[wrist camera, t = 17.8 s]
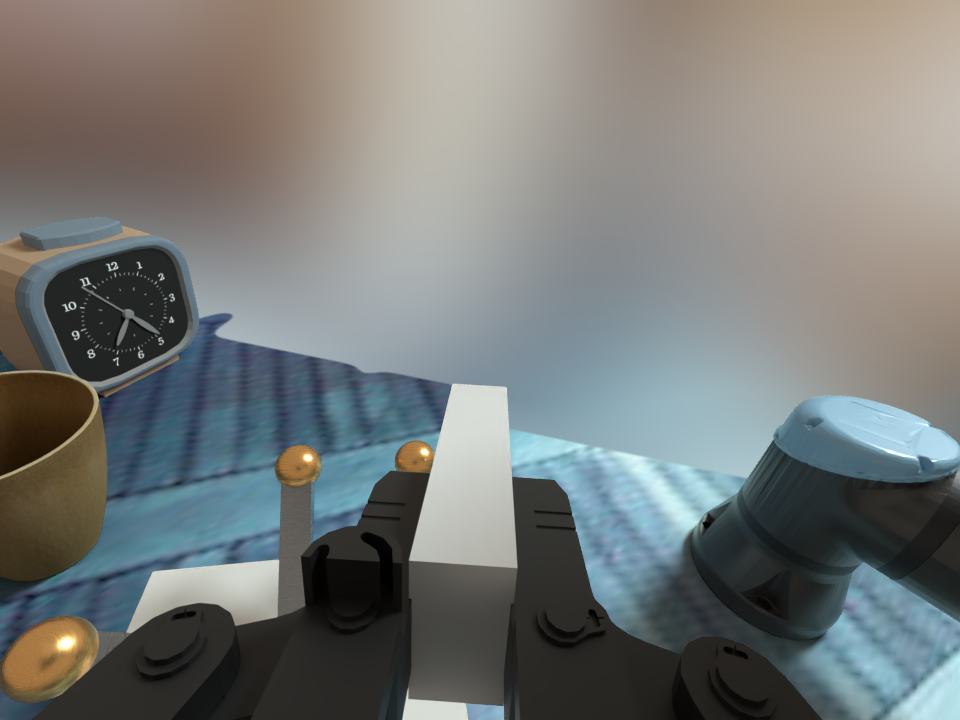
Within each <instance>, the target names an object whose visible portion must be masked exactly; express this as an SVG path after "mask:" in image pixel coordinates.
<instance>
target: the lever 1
mask: <svg viewBox="0 0 960 720" xmlns="http://www.w3.org/2000/svg"><path fill="white" fill-rule="evenodd" d="M130 634H131V633H125V632H104V631H97V630H96V628H95V627H94V626H93V625H92V624H91V623H90V622H89V621H87V620H86V619H83V618H81V617H77V616H60V617H55V618H51V619H48V620H45V621H43V622H41V623H39V624H37V625H35V626H33V627H31V628H30V629H28V630H27V631H26V632H24V633H23V634H22V635H21V636H20V637H18V638H17V639H16V640H15V641H14V642H13V644H12V645H11V646H10V647H9V649H8V650H7V652H6V653H5V655H4V657H3V659H2V661H1V663H0V688H1V690H2V692H3V693H4V694H5V695H6V696H7V697H9V698H10V699H12V700H14V701H17V702H21V703H38V702H43V701H47V700H50V699H53V698H55V697H57V696H59V695H61V694H62V693H63V692H65V691H66V690H67V689H68V688H69V687H70V686H71V685H73V684H74V683H75V682H76V681H77V680H78V679H79V678H81V677H82V676H83V675H84V674H85V673H86V672H87V671H89V670H90V669H91V668H92V667H93V666H94V665H96V664H97V663H98V662H99V661H100V660H101V659H102V658H104V657H105V656H106V655H107V654H108V653H109V652H110V651H112V650H113V649H114V648H115V647H116V646H117V645H118V644H120V643H121V642H122V641H123V640H124V639H125V638H126V637H128V636H129V635H130Z"/></svg>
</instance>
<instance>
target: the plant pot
mask: <svg viewBox="0 0 960 720" xmlns="http://www.w3.org/2000/svg"><path fill="white" fill-rule="evenodd" d="M106 496H107V453H106V443H105V434H104V427H103V421H102V415H101V409H100V404H99V399H98V395H97V393H96V391H95V389H94V388H93V387H92V386H91V385H90V384H89V383H88V382H86V381H85V380H83V379H81V378H78V377H76V376H73V375H69V374H65V373H60V372H53V371H39V370H26V371H11V372H3V373H0V577H3V578H7V579H11V580H15V581H34V580H39V579H44V578H47V577H50V576H53V575H55V574H58V573H60V572H62V571H64V570H66V569H68V568H69V567H71V566H73V565H74V564H76V563H77V562H79V561H80V560H81V559H82V558H84V557H85V556H86V555H87V554H88V553H89V552H90V551H91V550H92V548H93V547H94V546H95V545H96V543H97V542H98V539H99V537H100V534H101V530H102V524H103V519H104V513H105V506H106Z"/></svg>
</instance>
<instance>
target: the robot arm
mask: <svg viewBox="0 0 960 720" xmlns="http://www.w3.org/2000/svg"><path fill="white" fill-rule="evenodd" d="M508 421H509V420H508V404H507V388H506V387H496V386H481V385H465V384H452V389H451V393H450V397H449V401H448V405H447V409H446V413H445V417H444V421H443V425H442V429H441V433H440V437H439V441H438V445H437V449H436V453H435V457H434V461H433V465H432V469H431V473H418V472H403V471H390V472H389V473H388V474H386V475H385V476H384V477H383V478H382V479H381V480H379V481H378V482H377V483H376V484H375V486H374V488H373V490H372V492H371V495H370V497H369V499H368V504H366V506H365V508H364V511H363V513H362V516H361V519H360V520H359V522H358V524H357V526H349V527H344V528H341V529H338V530H335V531H332V532H328V533H327V534H325V535H324V536H322V537H320V538H319V539H317V540H316V541H314V542H313V543H312V544H311V545H310V546H309V547H308V548H307V549H306V551H305V552H304V553H303V554H302V555H301V565H302V575H303V586H304V597H305V606H304V607H302V608H300V609H298V610H296V611H294V612H292V613H289V614H286V615H282V616H279V617H276V618H271V619H266V620H261V621H257V622H252V623H247V624H243V625H238V626H235V623H234V620H233V617H232V615H231V613H230V612H229V611H227V610H226V609H224V608H223V607H221V606H219V605H217V604H208V603H195V604H190V605H185V606H180V607H176V608H174V609H172V610H169V611H167V612H165V613H163V614H160V615H158V616H156V617H154V618H152V619H151V620H149V621H148V622H147V623H145V624H144V625H142V626H141V627H139V628H138V629H137V630H135V631H134V632H132V633H131V634H130V635H129V636H128V637H126V638H125V639H124V640H123V641H122V642H121V643H120V644H118V645H117V646H116V647H115V648H114V649H113V650H112V651H110V652H109V653H108V654H107V655H106V656H105V657H104V658H102V659H101V660H100V661H99V662H98V663H97V664H96V665H94V666H93V667H92V668H91V669H90V670H89V671H87V672H86V673H85V674H84V675H83V676H82V677H81V678H79V679H78V680H77V681H76V682H75V683H74V684H73V685H71V686H70V687H69V688H68V689H67V690H66V691H65V692H63V693H62V694H61V695H60V696H59V697H58V698H57V699H55V700H54V701H53V702H52V703H51V704H50V705H49V706H47V707H46V708H45V709H44V710H43V711H42V712H40V713H39V714H38V715H37V716H36V717H35V718H34V719H32V720H402V718H403V712H404V707H405V701H406V696H407V690H408V699H416V700H429V701H443V702H456V703H470V704H483V705H497V706H503V703H504V720H822V719H821V718H820V717H819V716H818V715H817V713H816V712H815V711H814V710H813V709H812V707H811V706H810V705H809V704H808V703H807V702H806V700H805V699H804V698H803V697H802V696H801V695H800V693H799V692H798V691H797V690H796V689H795V687H794V686H793V685H792V684H791V683H790V682H789V680H788V679H787V678H786V677H785V676H784V675H783V674H782V673H781V672H780V671H779V670H778V669H776V668H775V667H774V666H773V665H772V664H771V663H770V662H769V661H768V660H767V659H766V658H764V657H763V656H761V655H759V654H758V653H756V652H755V651H753V650H751V649H750V648H748V647H746V646H745V645H743V644H740V643H737V642H734V641H731V640H728V639H725V638H722V637H701V638H699V639H696V640H694V641H692V642H690V643H688V645H687V646H686V648H685V650H684V651H683V653H682V655H679V654H677V653H674V652H671V651H669V650H666V649H663V648H660V647H658V646H655V645H652V644H649V643H647V642H644V641H642V640H640V639H637V638H635V637H633V636H631V635H629V634H627V633H626V632H624V631H623V630H622V629H620V628H619V627H617V626H616V625H615V624H614V623H613V622H611V620H610V618H609V616H608V614H607V612H606V610H605V609H604V608H603V607H602V606H601V605H600V604H599V603H598V602H597V601H596V600H595V598H594V596H593V593H592V590H591V587H590V583H589V579H588V575H587V571H586V567H585V563H584V559H583V555H582V551H581V547H580V543H579V539H578V535H577V532H576V527H575V523H574V519H573V516H572V511H571V507H570V503H569V499H568V495H567V494H566V493H565V492H564V491H563V490H562V488H561V487H560V486H559V485H558V484H557V483H556V481H555V480H548V479H533V478H518V477H512V470H511V453H510V437H509V422H508ZM773 436H774V440H773V441H772V443H771V444H770V446H769V447H768V449H767V450H766V452H765V453H764V455H763V456H762V458H761V459H760V461H759V462H758V464H757V465H756V467H755V468H754V470H753V471H752V472H751V474H750V475H749V477H748V478H747V480H746V481H745V483H744V485H743V486H742V488H741V489H740V491H739V492H738V493H737V494H736V495H734V496H732V497H731V498H729V499H728V500H726V501H724V502H723V503H721V504H719V505H718V506H716V507H715V508H713V509H711V510H710V511H708V512H707V513H706V514H705V515H704V516H703V517H702V518H701V520H700V521H699V523H698V524H697V526H696V528H695V529H694V531H693V534H692V537H691V550H692V555H693V559H694V561H695V564H696V566H697V568H698V570H699V572H700V574H701V576H702V577H703V579H704V580H705V582H706V583H707V585H708V586H709V587H710V588H711V590H712V591H713V592H714V593H715V594H716V595H717V597H718V598H719V599H720V600H721V601H722V602H723V603H724V604H726V605H727V606H728V607H729V608H730V609H731V610H732V611H734V612H735V613H736V614H738V615H739V616H740V617H742V618H743V619H745V620H746V621H748V622H749V623H751V624H753V625H754V626H756V627H758V628H760V629H762V630H764V631H766V632H768V633H771V634H774V635H776V636H779V637H783V638H787V639H793V640H810V639H814V638H817V637H819V636H821V635H823V634H824V633H825V632H826V631H827V630H828V629H829V628H830V627H831V626H832V625H834V624H835V623H836V621H837V620H838V619H839V617H840V615H841V613H842V610H843V606H844V602H845V599H846V595H847V591H848V587H849V583H850V579H851V575H852V572H853V571H854V570H855V569H856V568H857V567H858V566H859V565H860V564H861V563H862V562H865V563H867V564H868V565H870V566H871V567H873V568H875V569H876V570H878V571H879V572H881V573H883V574H884V575H886V576H887V577H889V578H890V579H892V580H894V581H895V582H897V583H899V584H900V585H902V586H903V587H905V588H906V589H908V590H910V591H911V592H913V593H914V594H916V595H917V596H919V597H921V598H922V599H924V600H925V601H927V602H928V603H930V604H932V605H933V606H935V607H936V608H938V609H939V610H941V611H943V612H944V613H946V614H947V615H949V616H950V617H952V618H954V619H955V620H957V621H958V622H960V446H959V445H958V443H957V442H956V441H955V440H954V439H953V438H952V437H950V436H949V435H948V434H947V433H945V432H944V431H943V430H939V429H936V428H933V427H932V424H931V423H929V422H928V421H926V420H924V419H922V418H920V417H918V416H915V415H913V414H910V413H908V412H906V411H903V410H901V409H898V408H895V407H892V406H889V405H885V404H882V403H879V402H875V401H872V400H867V399H862V398H857V397H850V396H834V395H826V396H818V397H814V398H810V399H808V400H805V401H804V402H802V403H800V404H799V405H798V406H797V407H796V408H795V409H794V410H793V412H792V413H791V414H790V415H789V417H788V418H787V419H786V421H785V422H784V424H782V425H781V426H779V427H778V428H777V429H776V431H775V433H774V435H773Z"/></svg>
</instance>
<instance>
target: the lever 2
mask: <svg viewBox="0 0 960 720" xmlns="http://www.w3.org/2000/svg"><path fill="white" fill-rule="evenodd" d="M434 457H435V452H434V451H433V449H432V448H431V447H430V446H429V445H428V444H427V443H425V442H422V441H410V442H407V443H405V444H404V445H403V446H401V448H400V449H399V450H398V452H397V454H396V457H395V468H396V471H403V472H418V473H431V469H432V465H433V461H434Z"/></svg>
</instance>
